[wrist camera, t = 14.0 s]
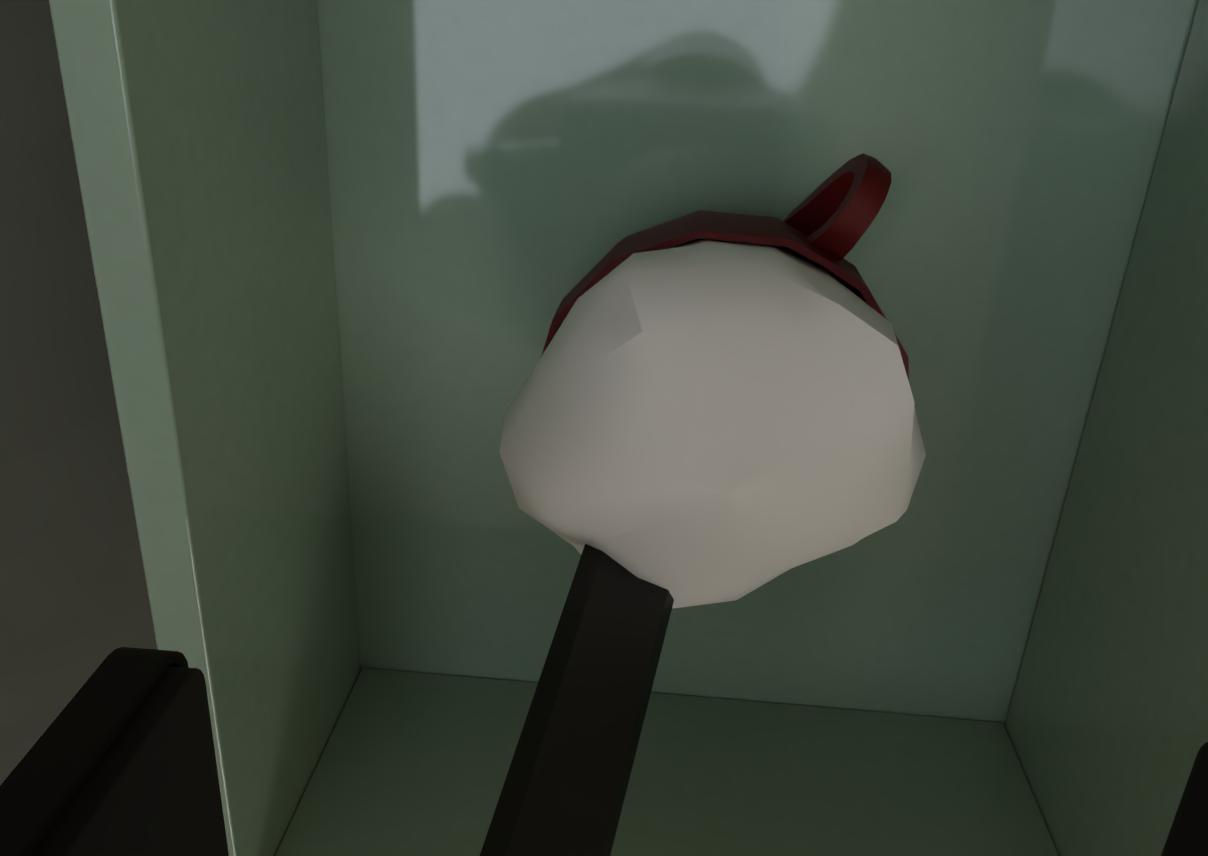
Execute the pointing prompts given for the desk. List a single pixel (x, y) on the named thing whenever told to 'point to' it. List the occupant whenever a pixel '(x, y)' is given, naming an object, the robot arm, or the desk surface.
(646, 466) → the cocoa
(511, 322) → the green open box
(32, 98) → the desk surface
